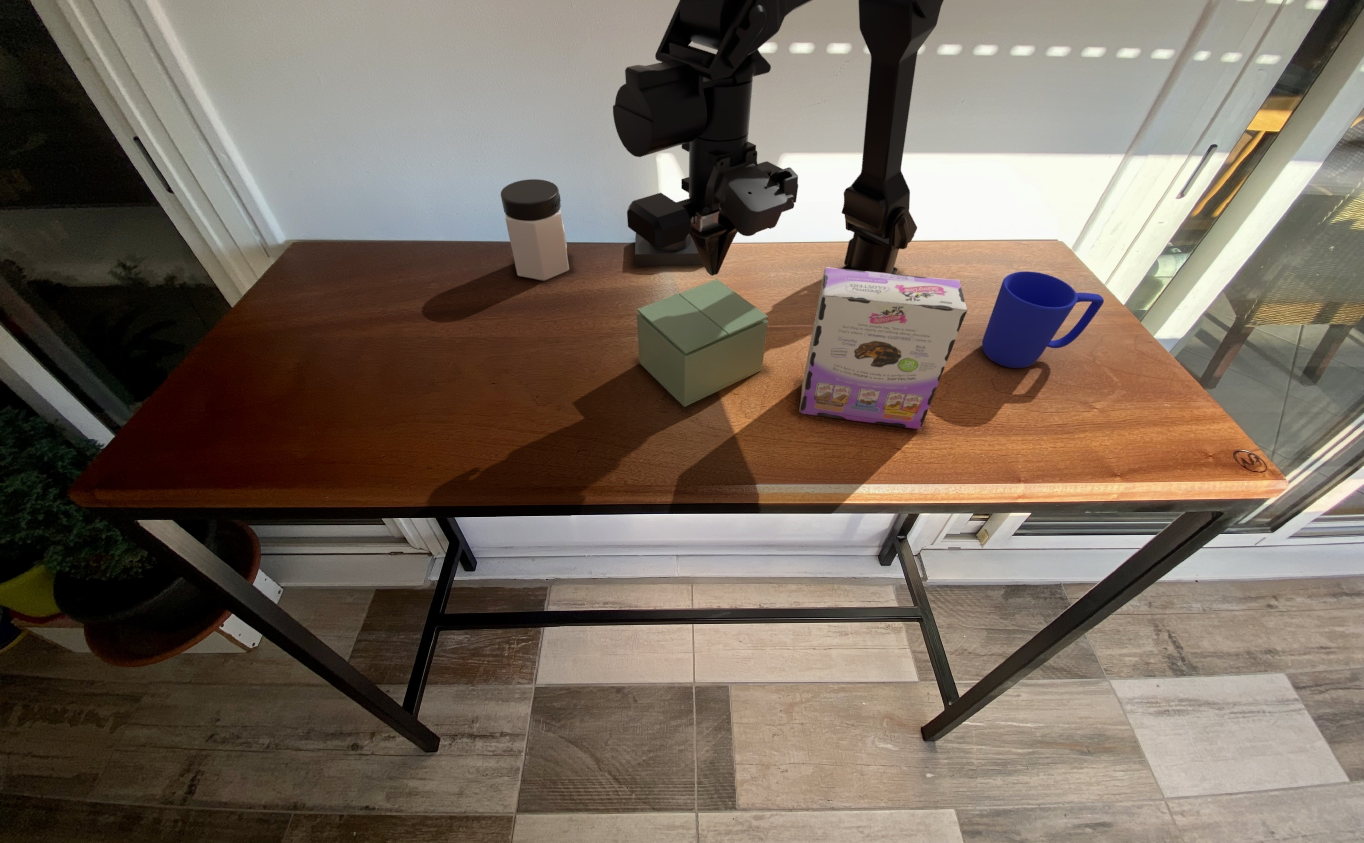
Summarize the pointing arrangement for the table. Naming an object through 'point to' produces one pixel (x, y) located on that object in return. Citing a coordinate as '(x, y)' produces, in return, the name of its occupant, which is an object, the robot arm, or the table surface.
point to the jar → (535, 228)
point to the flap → (723, 306)
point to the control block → (667, 253)
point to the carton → (695, 349)
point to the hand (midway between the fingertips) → (712, 273)
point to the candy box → (880, 346)
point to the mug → (1032, 318)
